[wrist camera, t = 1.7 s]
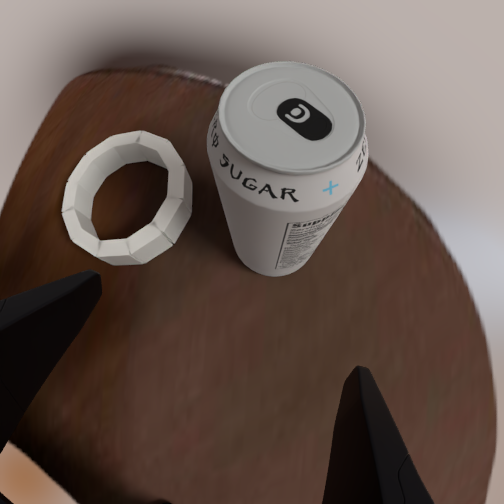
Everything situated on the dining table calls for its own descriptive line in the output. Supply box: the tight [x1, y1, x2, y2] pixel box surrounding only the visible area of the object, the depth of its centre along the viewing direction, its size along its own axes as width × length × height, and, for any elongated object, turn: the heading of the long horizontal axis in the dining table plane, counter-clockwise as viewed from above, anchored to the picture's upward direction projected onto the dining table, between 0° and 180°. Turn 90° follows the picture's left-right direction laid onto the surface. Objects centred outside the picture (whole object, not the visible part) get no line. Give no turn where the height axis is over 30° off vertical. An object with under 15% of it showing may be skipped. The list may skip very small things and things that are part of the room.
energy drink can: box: [207, 61, 368, 277], centre depth 17 cm, size 6×6×15 cm
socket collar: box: [62, 131, 192, 265], centre depth 23 cm, size 10×10×3 cm
